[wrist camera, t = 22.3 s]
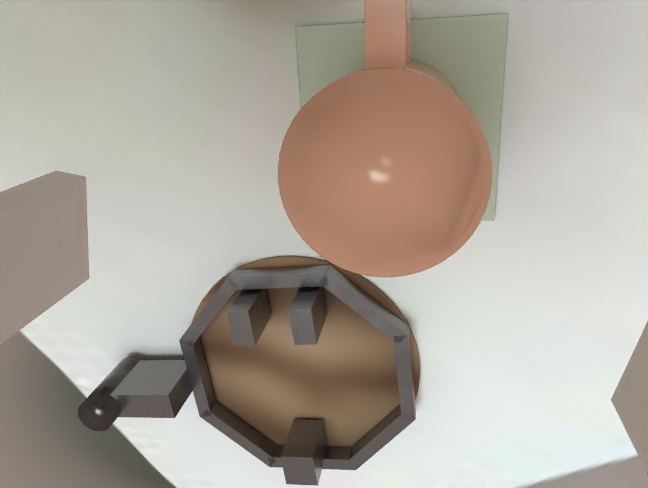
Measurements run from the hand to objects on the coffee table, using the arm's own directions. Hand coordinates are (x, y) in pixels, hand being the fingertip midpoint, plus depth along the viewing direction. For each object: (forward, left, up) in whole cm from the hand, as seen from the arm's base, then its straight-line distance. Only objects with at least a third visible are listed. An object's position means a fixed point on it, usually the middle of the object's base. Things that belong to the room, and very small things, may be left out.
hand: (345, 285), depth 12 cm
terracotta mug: (-1, 0, -22) cm, 22 cm away
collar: (+18, -11, -22) cm, 30 cm away
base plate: (+18, -7, -22) cm, 30 cm away
